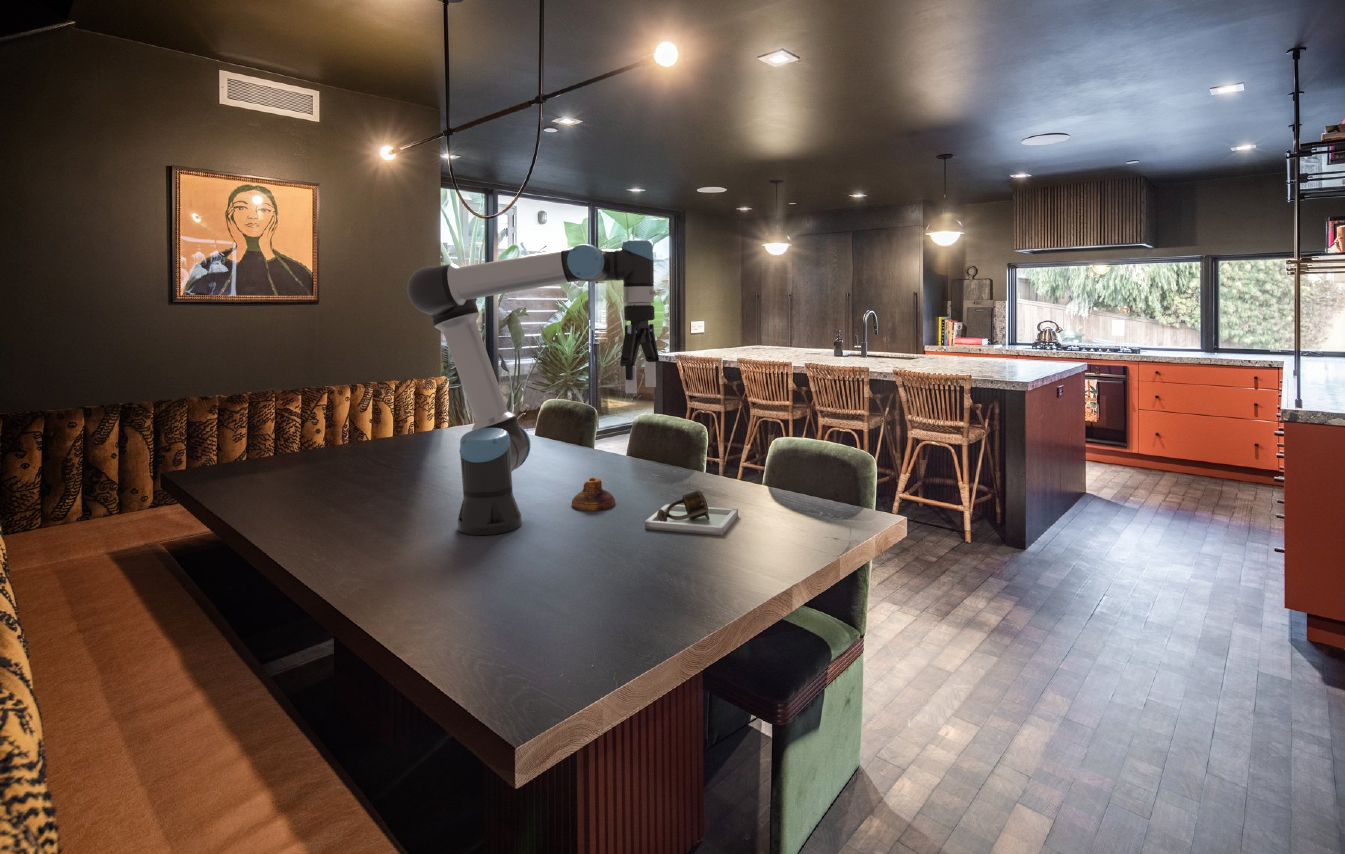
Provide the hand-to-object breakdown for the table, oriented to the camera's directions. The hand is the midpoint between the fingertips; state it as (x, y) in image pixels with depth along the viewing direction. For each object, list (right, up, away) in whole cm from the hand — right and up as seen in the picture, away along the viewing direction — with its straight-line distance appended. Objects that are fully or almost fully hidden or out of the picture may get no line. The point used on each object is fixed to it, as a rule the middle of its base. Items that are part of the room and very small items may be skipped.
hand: (641, 390), depth 180 cm
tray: (+13, -33, -5) cm, 35 cm away
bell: (-13, -31, +13) cm, 36 cm away
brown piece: (+11, -32, -5) cm, 34 cm away
